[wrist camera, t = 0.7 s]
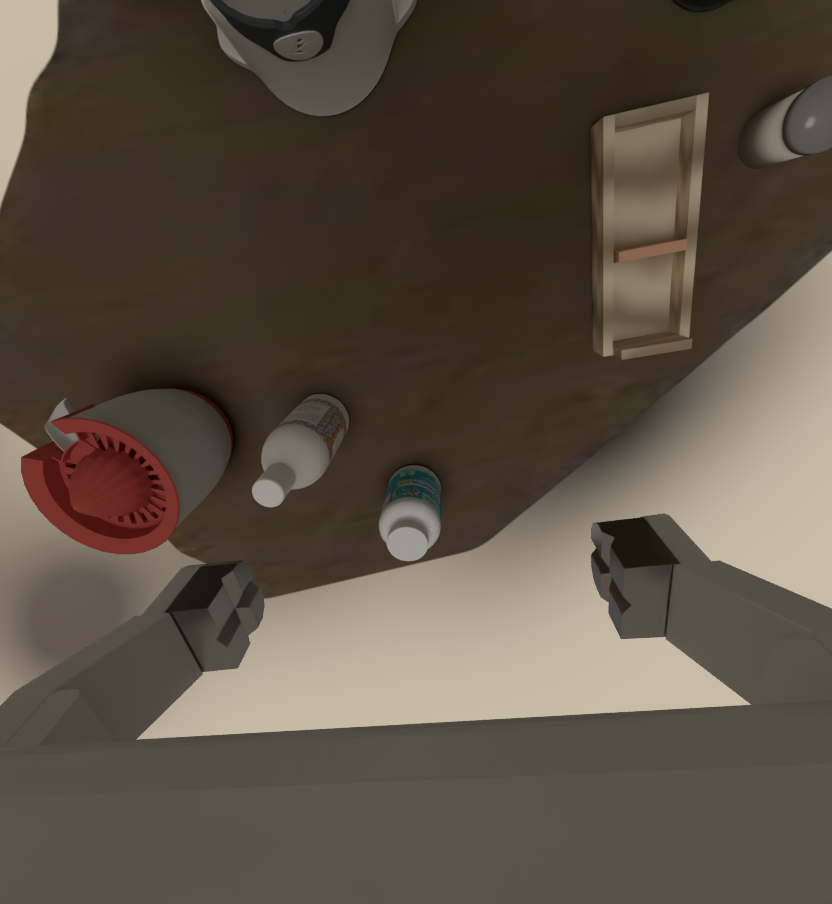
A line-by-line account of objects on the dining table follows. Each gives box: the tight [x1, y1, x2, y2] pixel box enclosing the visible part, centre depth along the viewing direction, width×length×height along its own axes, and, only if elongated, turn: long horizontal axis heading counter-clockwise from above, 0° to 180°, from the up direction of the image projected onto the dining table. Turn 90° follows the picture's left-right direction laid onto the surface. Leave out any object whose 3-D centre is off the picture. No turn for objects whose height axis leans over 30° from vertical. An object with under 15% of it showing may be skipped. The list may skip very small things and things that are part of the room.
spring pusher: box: [613, 239, 687, 263], centre depth 43 cm, size 1×6×3 cm, turn 101°
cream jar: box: [738, 75, 832, 169], centre depth 37 cm, size 5×5×7 cm
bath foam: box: [252, 394, 349, 507], centre depth 46 cm, size 7×7×20 cm
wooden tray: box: [591, 93, 709, 360], centre depth 42 cm, size 22×9×6 cm, turn 10°
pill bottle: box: [379, 465, 441, 561], centre depth 52 cm, size 8×7×14 cm
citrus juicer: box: [21, 388, 233, 554], centre depth 47 cm, size 16×17×20 cm
